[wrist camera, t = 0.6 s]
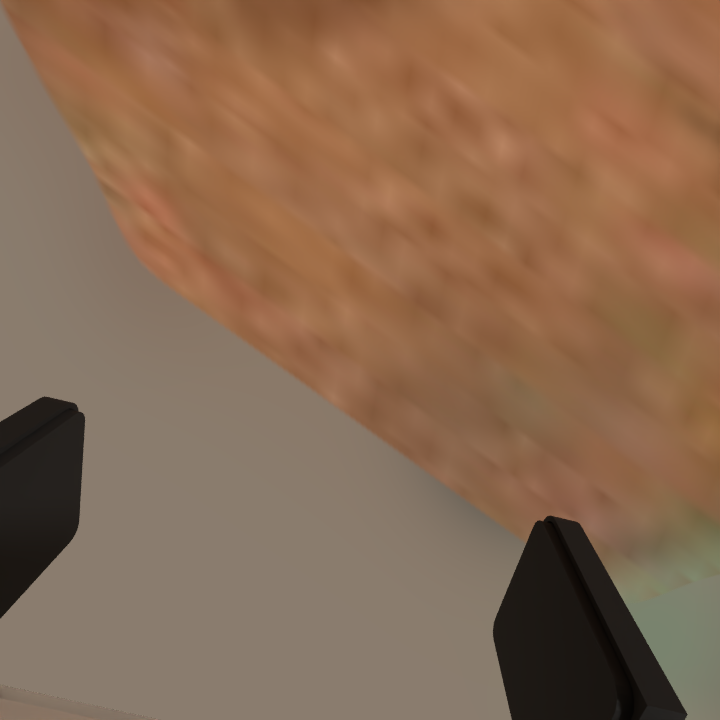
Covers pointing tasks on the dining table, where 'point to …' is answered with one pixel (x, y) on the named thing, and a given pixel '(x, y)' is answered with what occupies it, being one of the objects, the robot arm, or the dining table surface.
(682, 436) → the dining table surface
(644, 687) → the robot arm
